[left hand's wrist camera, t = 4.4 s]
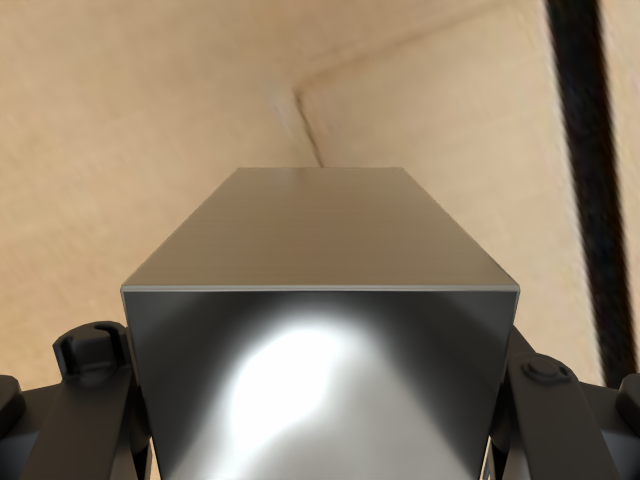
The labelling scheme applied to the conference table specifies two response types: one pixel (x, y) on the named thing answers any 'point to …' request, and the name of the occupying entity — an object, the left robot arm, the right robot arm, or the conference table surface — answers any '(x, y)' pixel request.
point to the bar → (320, 332)
